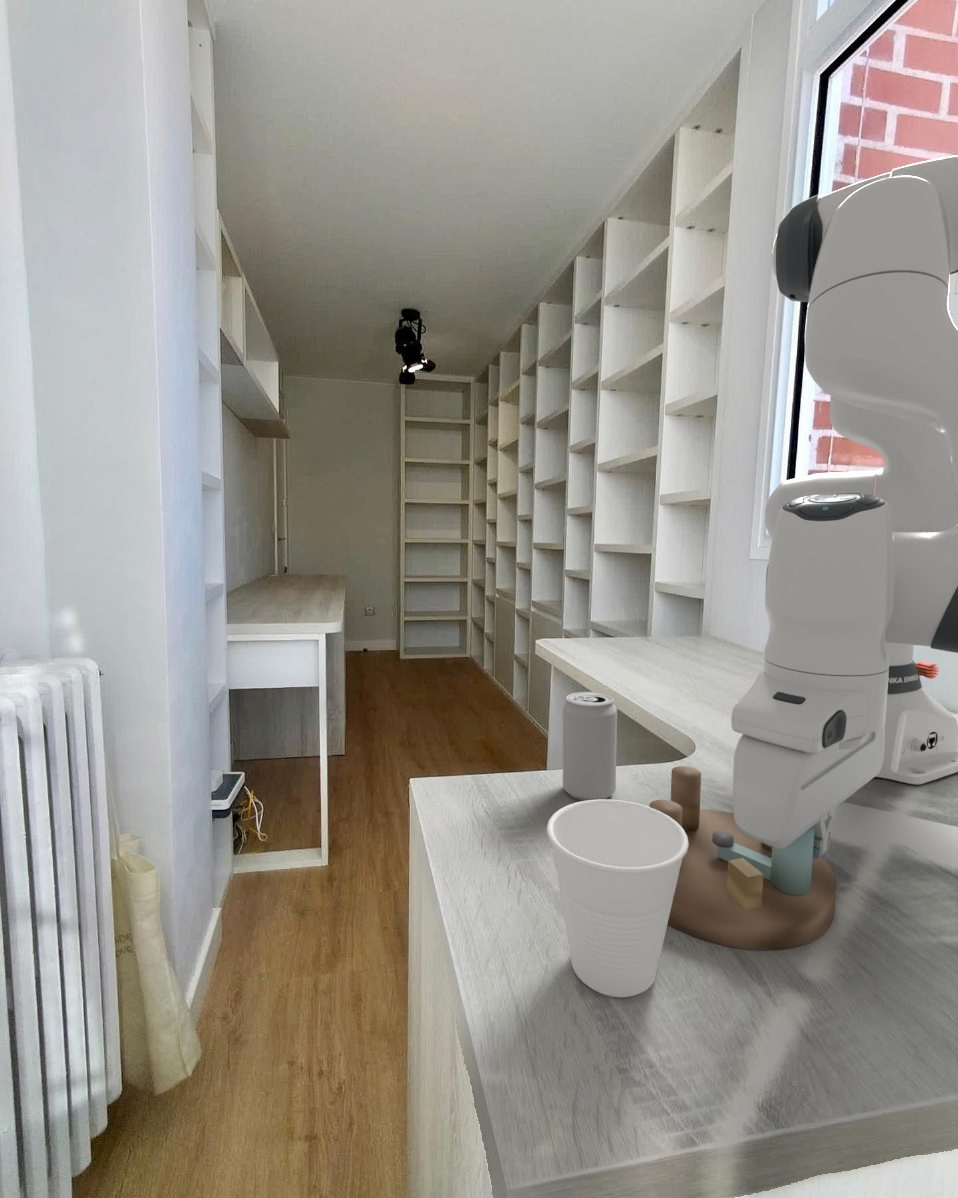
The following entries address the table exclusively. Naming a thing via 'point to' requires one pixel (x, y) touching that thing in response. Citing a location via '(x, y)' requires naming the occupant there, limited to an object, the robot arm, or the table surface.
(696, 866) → the stool seat
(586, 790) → the beverage can
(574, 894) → the cup
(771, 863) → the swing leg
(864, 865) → the table surface
